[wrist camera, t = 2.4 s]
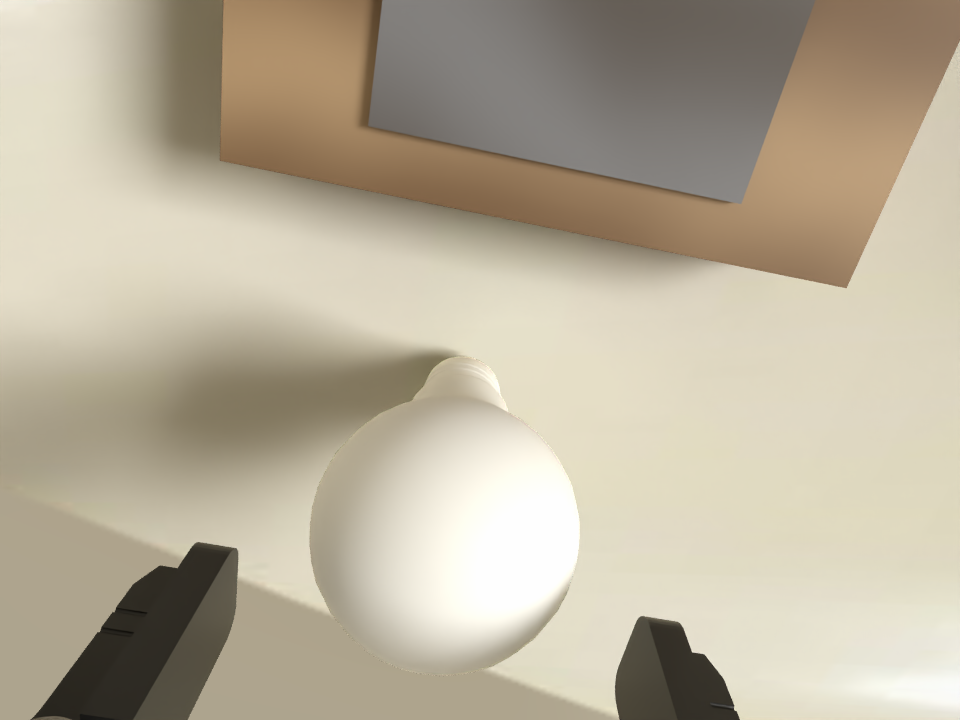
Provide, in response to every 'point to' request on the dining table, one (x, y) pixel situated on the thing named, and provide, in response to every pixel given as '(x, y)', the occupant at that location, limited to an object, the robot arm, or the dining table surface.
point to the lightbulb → (445, 528)
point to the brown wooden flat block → (601, 113)
